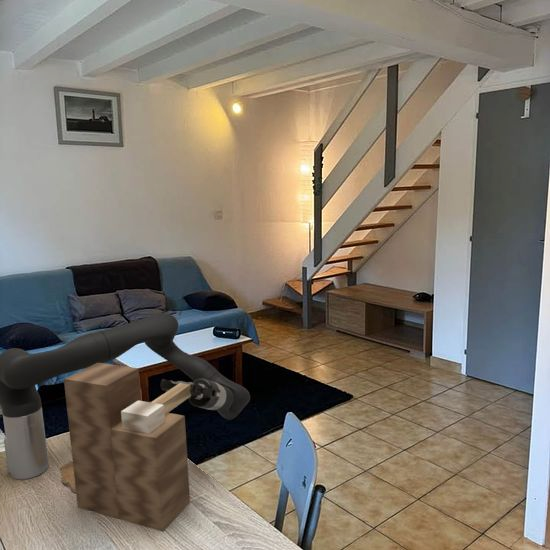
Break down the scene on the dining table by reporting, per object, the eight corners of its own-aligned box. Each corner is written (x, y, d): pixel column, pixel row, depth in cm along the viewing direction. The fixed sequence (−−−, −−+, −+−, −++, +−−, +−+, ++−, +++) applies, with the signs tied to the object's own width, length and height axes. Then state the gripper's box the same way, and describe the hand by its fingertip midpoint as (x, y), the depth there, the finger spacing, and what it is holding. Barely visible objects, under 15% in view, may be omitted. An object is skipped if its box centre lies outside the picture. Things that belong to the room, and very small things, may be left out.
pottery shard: (64, 498, 127) (63, 491, 126) (59, 467, 141) (58, 461, 140) (98, 489, 130) (97, 482, 130) (89, 460, 144) (88, 454, 144)
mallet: (122, 428, 114) (120, 411, 113) (174, 393, 132) (173, 378, 131) (148, 433, 111) (147, 416, 110) (197, 397, 129) (197, 381, 128)
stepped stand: (77, 507, 122) (63, 378, 116) (109, 482, 132) (97, 362, 126) (163, 531, 113) (152, 393, 107) (190, 502, 123) (181, 374, 117)
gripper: (188, 377, 144) (156, 367, 130) (233, 384, 139) (205, 373, 125) (182, 404, 142) (148, 397, 128) (228, 412, 137) (198, 405, 122)
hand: (176, 385), depth 126 cm, fingers open, 8 cm apart
